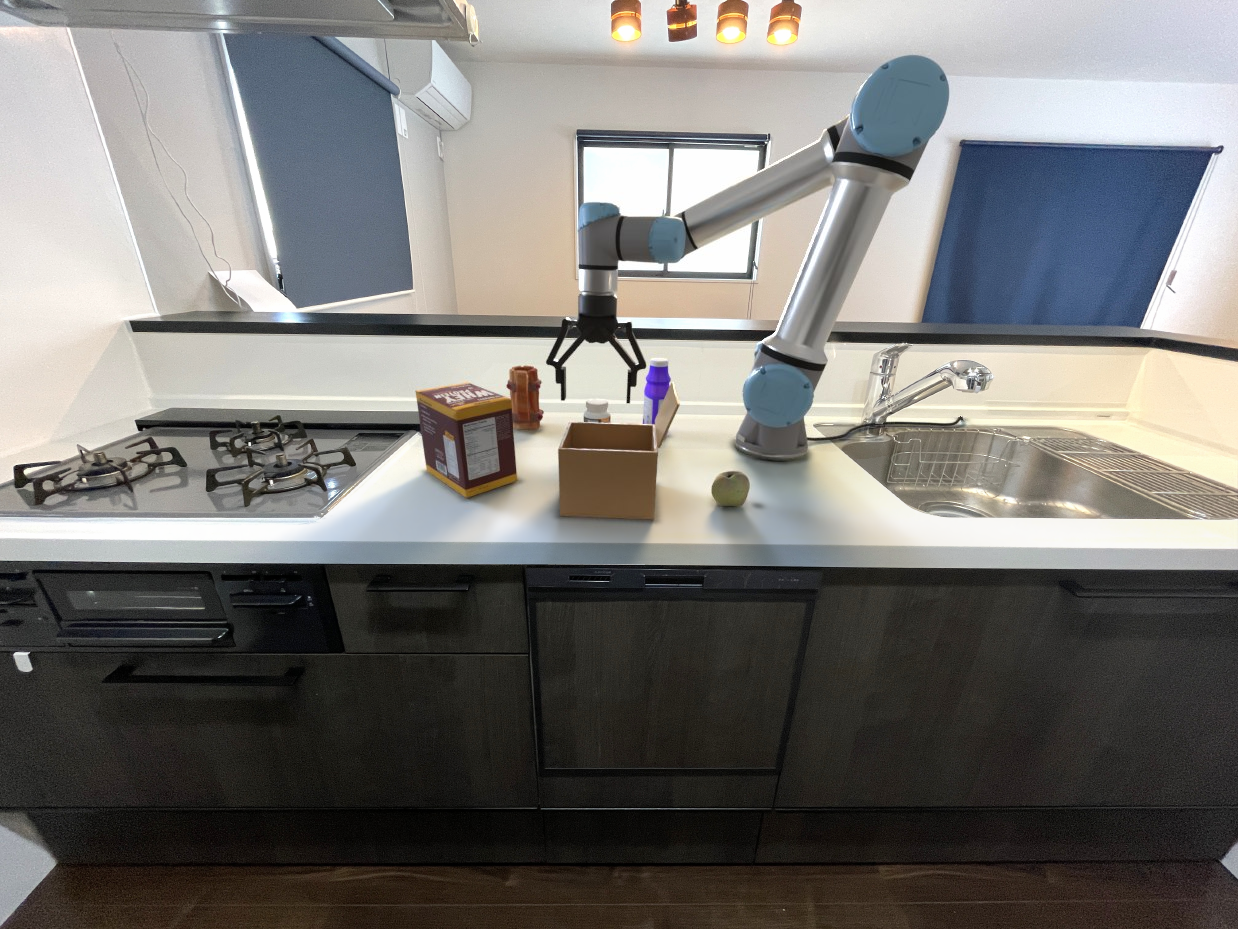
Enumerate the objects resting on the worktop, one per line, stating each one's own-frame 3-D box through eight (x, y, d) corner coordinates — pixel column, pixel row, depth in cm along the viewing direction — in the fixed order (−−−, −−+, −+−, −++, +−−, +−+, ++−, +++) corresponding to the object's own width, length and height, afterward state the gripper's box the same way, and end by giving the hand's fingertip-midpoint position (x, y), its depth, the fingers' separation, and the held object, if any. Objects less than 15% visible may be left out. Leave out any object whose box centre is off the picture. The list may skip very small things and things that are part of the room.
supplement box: (475, 457, 99) (467, 381, 93) (518, 481, 90) (512, 398, 83) (425, 470, 93) (413, 390, 87) (466, 499, 83) (456, 409, 77)
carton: (651, 484, 90) (655, 424, 85) (653, 519, 78) (658, 452, 73) (570, 481, 90) (569, 421, 86) (559, 516, 78) (558, 448, 74)
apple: (762, 510, 82) (767, 477, 80) (717, 514, 80) (721, 481, 78) (745, 493, 87) (750, 463, 85) (703, 497, 85) (706, 466, 83)
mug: (510, 421, 120) (506, 360, 114) (544, 421, 121) (542, 360, 115) (504, 443, 107) (499, 375, 101) (542, 442, 108) (540, 375, 102)
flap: (654, 420, 85) (656, 421, 85) (657, 447, 73) (659, 448, 73) (671, 381, 82) (674, 382, 82) (677, 403, 70) (680, 404, 70)
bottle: (671, 438, 113) (677, 362, 106) (647, 439, 111) (651, 362, 104) (661, 427, 119) (666, 355, 112) (639, 429, 118) (642, 356, 111)
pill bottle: (606, 451, 104) (607, 406, 100) (580, 448, 105) (580, 403, 101) (612, 442, 109) (613, 398, 105) (587, 439, 110) (587, 396, 106)
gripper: (661, 294, 98) (654, 397, 106) (536, 289, 98) (539, 392, 107) (663, 297, 91) (656, 408, 99) (529, 292, 91) (533, 402, 100)
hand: (595, 400), depth 103 cm, fingers open, 13 cm apart
